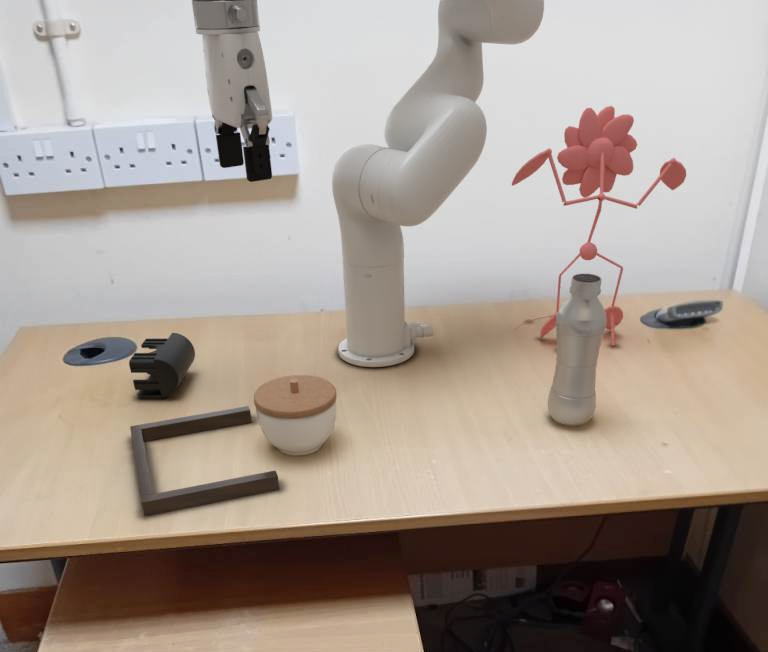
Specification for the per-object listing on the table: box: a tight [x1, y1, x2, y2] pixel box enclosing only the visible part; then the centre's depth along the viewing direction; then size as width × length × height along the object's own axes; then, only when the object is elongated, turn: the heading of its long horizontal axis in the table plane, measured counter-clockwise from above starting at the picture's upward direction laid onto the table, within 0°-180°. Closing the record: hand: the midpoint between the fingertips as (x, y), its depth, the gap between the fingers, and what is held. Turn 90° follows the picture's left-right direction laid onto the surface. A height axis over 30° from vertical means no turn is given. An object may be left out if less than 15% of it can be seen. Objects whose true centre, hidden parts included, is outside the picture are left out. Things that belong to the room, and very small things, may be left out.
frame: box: [129, 405, 280, 517], centre depth 103 cm, size 16×20×2 cm
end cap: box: [128, 332, 196, 400], centre depth 121 cm, size 10×7×7 cm
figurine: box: [511, 105, 687, 347], centre depth 125 cm, size 15×26×35 cm, turn 98°
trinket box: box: [253, 374, 338, 457], centre depth 104 cm, size 11×11×9 cm
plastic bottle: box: [547, 273, 607, 426], centre depth 105 cm, size 6×7×20 cm
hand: (245, 172), depth 102 cm, fingers open, 9 cm apart
